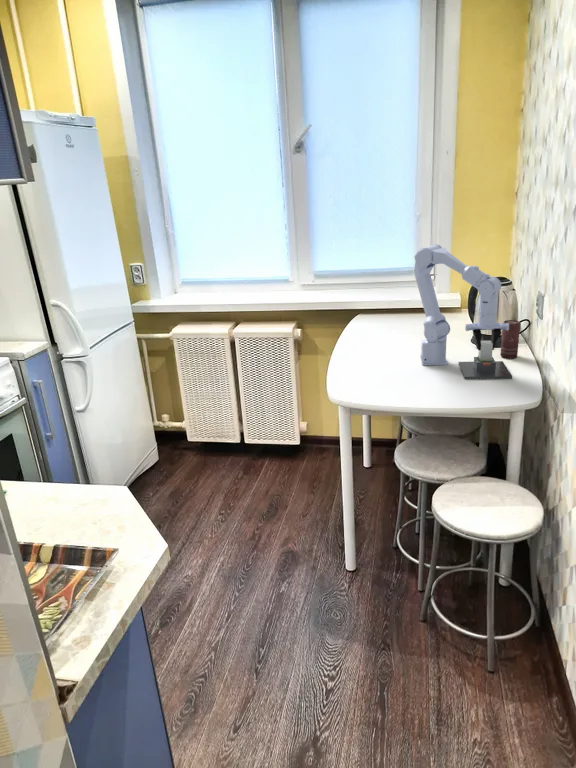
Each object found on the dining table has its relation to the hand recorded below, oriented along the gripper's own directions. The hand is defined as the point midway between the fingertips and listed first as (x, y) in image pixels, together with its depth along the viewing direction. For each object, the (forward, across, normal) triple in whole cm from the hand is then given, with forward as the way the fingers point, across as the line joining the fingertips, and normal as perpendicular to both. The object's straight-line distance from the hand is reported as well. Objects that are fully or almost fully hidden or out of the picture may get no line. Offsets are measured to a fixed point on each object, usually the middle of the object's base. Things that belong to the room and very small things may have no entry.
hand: (485, 349), depth 202 cm
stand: (+8, 0, 0) cm, 8 cm away
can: (+9, +12, +16) cm, 22 cm away
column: (+5, 0, 0) cm, 5 cm away
